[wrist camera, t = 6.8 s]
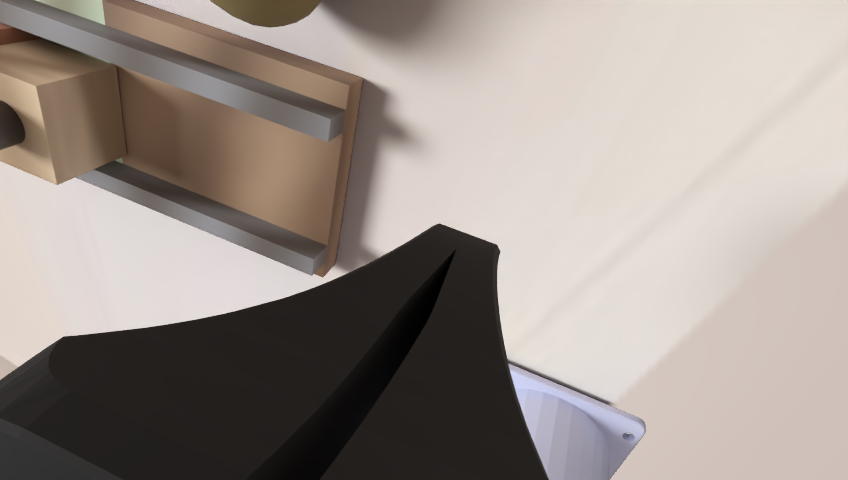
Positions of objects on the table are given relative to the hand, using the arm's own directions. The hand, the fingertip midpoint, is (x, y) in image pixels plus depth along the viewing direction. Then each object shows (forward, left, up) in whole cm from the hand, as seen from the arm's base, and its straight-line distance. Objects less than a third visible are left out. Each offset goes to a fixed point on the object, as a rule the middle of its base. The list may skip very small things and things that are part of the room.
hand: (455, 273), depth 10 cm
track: (-5, +15, -10) cm, 18 cm away
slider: (-5, +19, -9) cm, 22 cm away
